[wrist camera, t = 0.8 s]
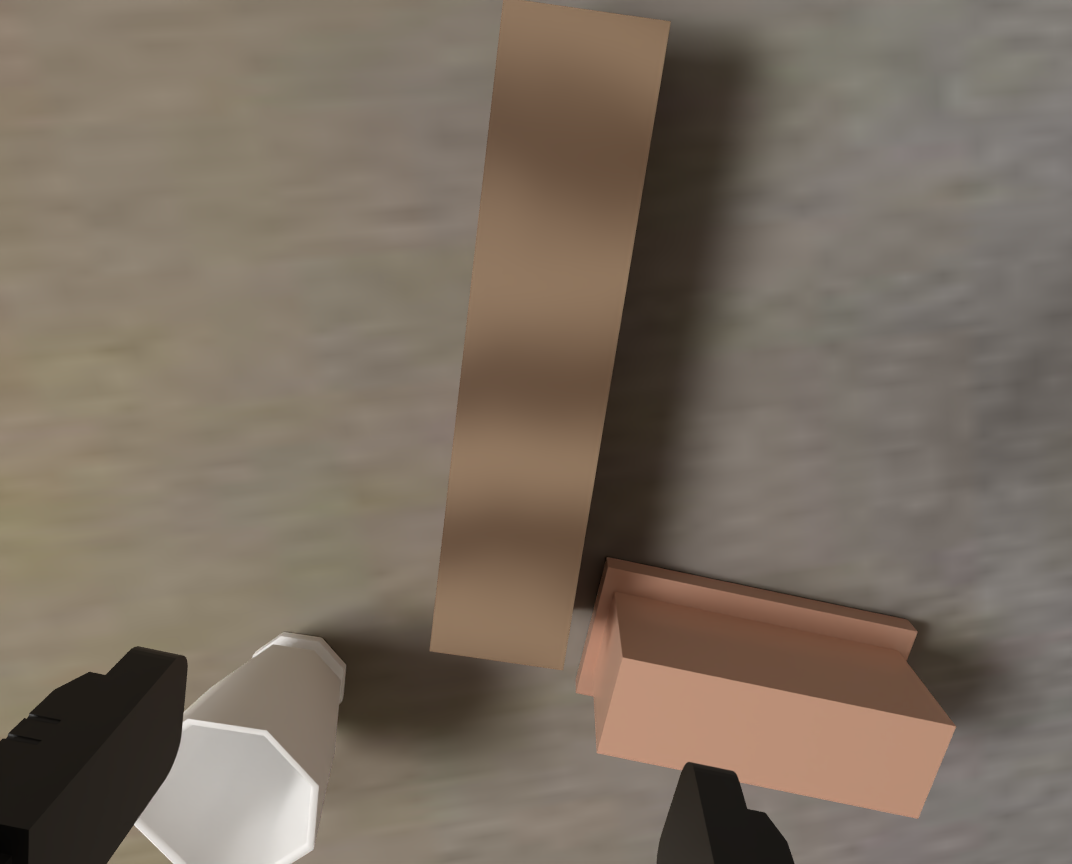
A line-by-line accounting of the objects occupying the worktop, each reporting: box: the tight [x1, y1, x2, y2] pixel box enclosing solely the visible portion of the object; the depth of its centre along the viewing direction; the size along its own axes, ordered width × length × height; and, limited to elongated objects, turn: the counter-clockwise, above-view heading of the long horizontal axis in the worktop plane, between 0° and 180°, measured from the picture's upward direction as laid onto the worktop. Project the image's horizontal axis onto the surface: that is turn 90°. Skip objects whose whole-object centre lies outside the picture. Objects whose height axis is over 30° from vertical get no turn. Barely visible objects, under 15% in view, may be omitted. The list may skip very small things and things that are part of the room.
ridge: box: [576, 557, 956, 819], centre depth 31 cm, size 6×13×6 cm, turn 78°
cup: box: [134, 632, 346, 864], centre depth 31 cm, size 7×10×8 cm
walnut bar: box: [430, 0, 671, 670], centre depth 28 cm, size 22×5×5 cm, turn 172°
